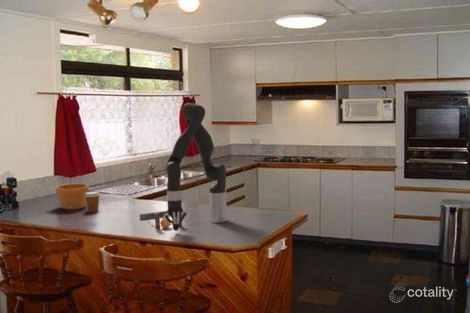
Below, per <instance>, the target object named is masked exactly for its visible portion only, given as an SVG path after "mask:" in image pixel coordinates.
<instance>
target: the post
mask: <svg viewBox="0 0 470 313" xmlns="http://www.w3.org/2000/svg"><path fill="white" fill-rule="evenodd" d="M154 220H155V227H154V228H155V229H160V230H161V226H160V220H161V217H160V215H159V213H155V218H154ZM155 229H154V230H155Z"/></svg>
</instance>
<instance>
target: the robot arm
mask: <svg viewBox="0 0 470 313" xmlns="http://www.w3.org/2000/svg"><path fill="white" fill-rule="evenodd" d="M182 115H183V118H184V120H185V122H186V124H187V128H186V129H185V130H184V132H182V133H181V135H179V137H178V138H177V139H176V142H175V143H174V144H175V145H174V146H173V148H172V152H171V154H170V156H169V158H168V160H167V161H166V164H165V170H166V172H167V180H166V181H167V182H166V187H167V189H166V190H167V191H166V192H167V193H166V197H167V198H166V200H167V210H166V211H167V213H166V214H164V215H163V216H164V217H163V218H166V219H167V220H168V221H169V222H170V223H171V225H172V230H174V232H177V231H179V230H180V229H179V228H180V227H179V223H180V222H182V223H183V220H184V219H185V217H186V216H187V215H188V214H187V212H186V211H184V209H183V205H182V203H183V202H182V198H183V197H182V190H181V166H180V165H181V163H182V161H183V159H184V158H185V156H186V155H187V152H188V149H189V146H190V144H191V141H192V140H194V144H195V146H196V148H197V152H198V153H199V156H200V158H201V161H202V166H203V169H204V173H205V176H206V178H207V180H209V181H216V184H215V185H211V186H210V187H209V188H208V189H209V190H208V191H209V210H210V211H209V212H210V223H215V224H218V223H220V224H221V223H225V222H227V201H226V195H227V194H226V186H227V170H226V166H225V165H224V164H218V163H217V164H216V163H215V164H214V163H212V159H211V157H212V155H213V152H214V149H215V146H214V142H213V139H212V136H211V135H210V133H209V132H208V131H207V129H206V128H205V127H204V125H203V124H202V122H203V121H204V119H205V115H206V110H205V107H204V106H202V105H199V104H197V103H194V102H187V103H185V104H184V105H183V107H182ZM168 214H169V215H168ZM180 215H181V217H180V218H179V216H180ZM169 218H170V219H171V220H172V221H171V220H170V219H169Z"/></svg>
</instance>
